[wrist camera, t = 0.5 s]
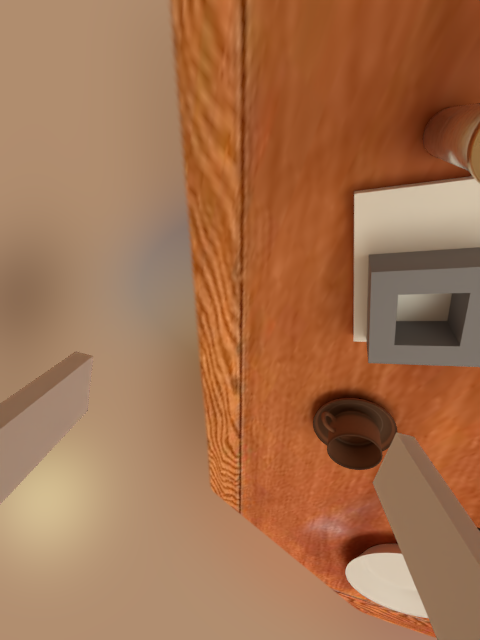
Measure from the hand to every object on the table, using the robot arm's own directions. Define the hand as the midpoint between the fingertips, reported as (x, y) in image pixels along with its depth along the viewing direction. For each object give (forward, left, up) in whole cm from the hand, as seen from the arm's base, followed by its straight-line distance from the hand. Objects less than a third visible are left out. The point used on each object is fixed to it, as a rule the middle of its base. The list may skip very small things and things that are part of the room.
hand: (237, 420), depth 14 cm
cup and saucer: (+30, +5, -29) cm, 42 cm away
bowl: (+72, +16, -29) cm, 80 cm away
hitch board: (+5, +12, -29) cm, 32 cm away
